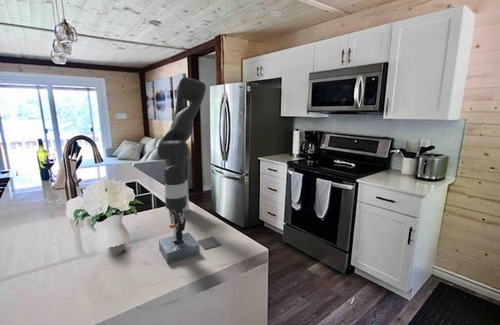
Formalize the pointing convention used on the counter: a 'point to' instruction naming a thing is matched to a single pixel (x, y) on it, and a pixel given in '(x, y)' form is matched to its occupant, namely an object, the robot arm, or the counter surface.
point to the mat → (209, 242)
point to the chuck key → (175, 234)
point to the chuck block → (178, 248)
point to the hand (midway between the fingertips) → (178, 238)
